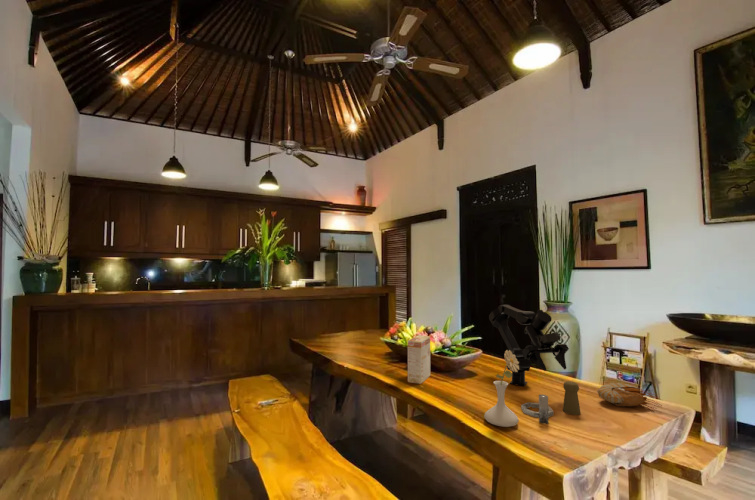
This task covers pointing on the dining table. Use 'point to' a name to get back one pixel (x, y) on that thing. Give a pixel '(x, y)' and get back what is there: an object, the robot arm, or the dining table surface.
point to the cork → (571, 398)
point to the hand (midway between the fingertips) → (555, 369)
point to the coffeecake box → (418, 359)
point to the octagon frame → (543, 409)
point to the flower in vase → (500, 411)
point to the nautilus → (624, 395)
